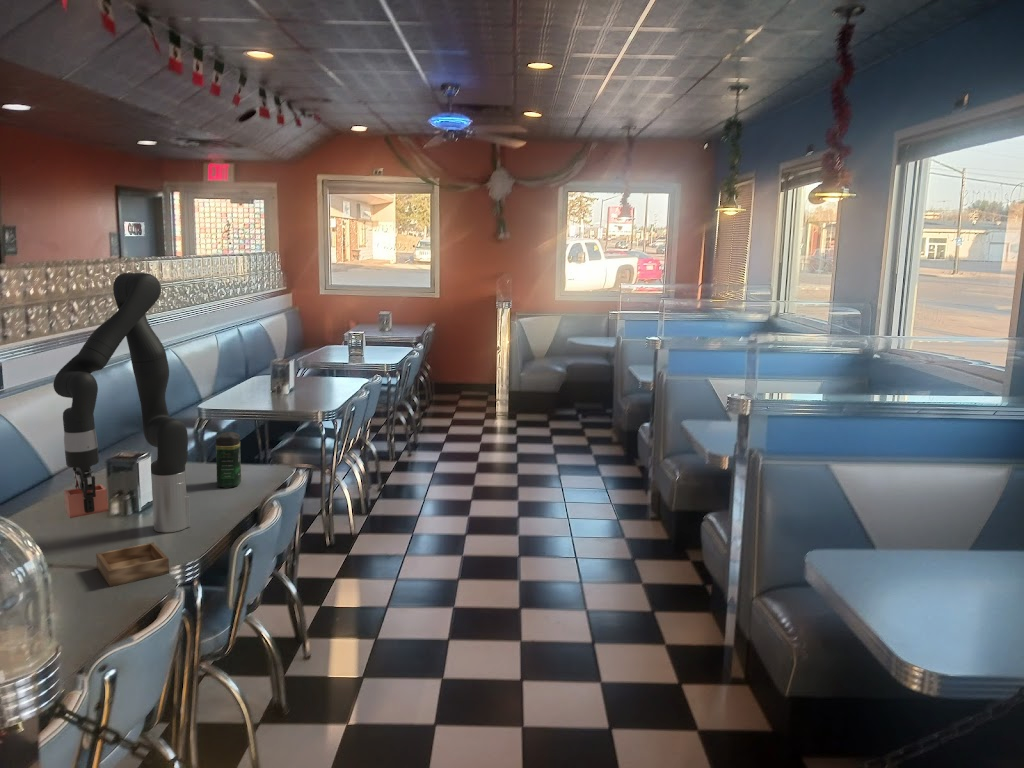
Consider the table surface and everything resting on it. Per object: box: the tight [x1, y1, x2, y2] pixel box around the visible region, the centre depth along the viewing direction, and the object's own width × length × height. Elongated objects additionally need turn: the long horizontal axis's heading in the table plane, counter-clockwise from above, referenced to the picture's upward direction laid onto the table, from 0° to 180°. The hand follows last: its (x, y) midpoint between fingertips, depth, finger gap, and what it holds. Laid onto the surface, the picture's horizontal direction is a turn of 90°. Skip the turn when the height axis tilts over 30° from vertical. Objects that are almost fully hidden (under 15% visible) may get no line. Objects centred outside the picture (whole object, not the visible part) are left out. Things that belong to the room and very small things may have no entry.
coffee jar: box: [215, 431, 242, 489], centre depth 272 cm, size 10×8×19 cm
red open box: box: [63, 483, 109, 519], centre depth 205 cm, size 9×6×6 cm, turn 130°
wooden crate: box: [95, 541, 170, 587], centre depth 199 cm, size 14×14×4 cm
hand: (87, 508), depth 205 cm, fingers closed on red open box, 5 cm apart
